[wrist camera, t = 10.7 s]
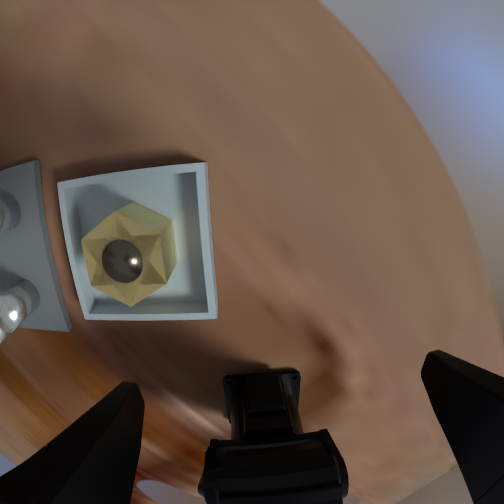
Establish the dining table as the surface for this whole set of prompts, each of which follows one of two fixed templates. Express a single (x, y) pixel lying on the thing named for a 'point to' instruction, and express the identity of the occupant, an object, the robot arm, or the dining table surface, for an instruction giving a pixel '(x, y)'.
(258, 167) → the dining table surface
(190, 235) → the tray
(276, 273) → the dining table surface
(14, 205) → the spacer posts
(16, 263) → the spacer board
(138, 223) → the brass nut
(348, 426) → the dining table surface
